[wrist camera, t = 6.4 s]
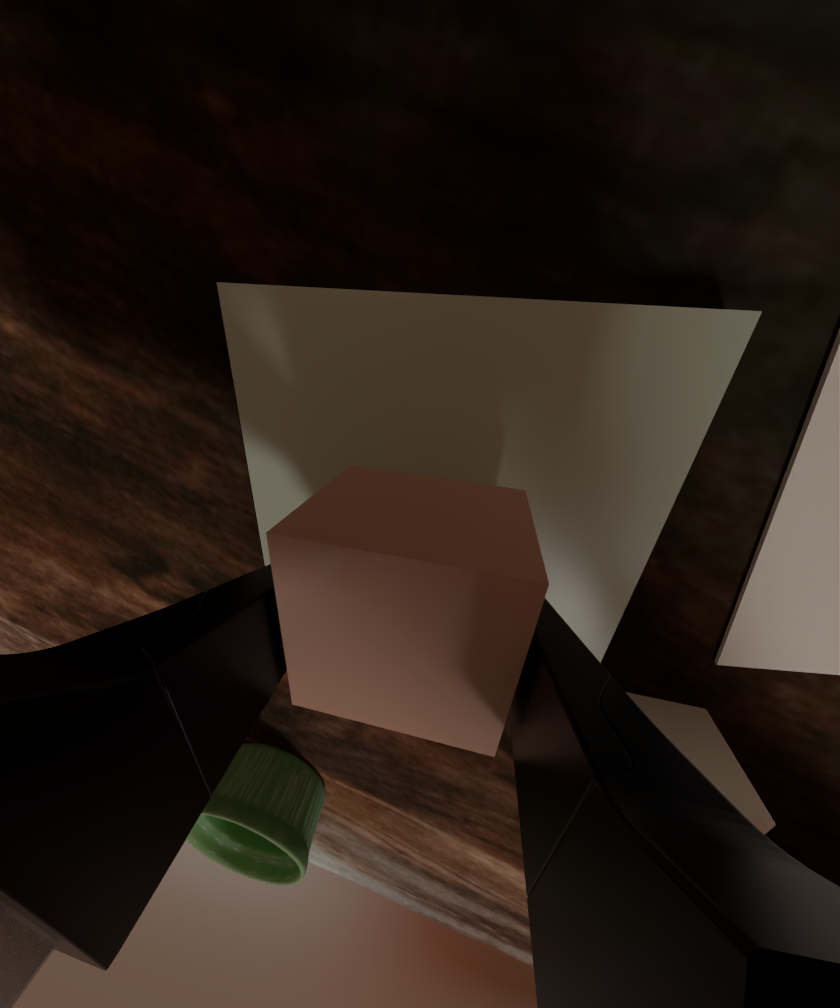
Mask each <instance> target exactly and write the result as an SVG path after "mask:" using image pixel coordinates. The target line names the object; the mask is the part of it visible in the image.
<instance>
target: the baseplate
mask: <svg viewBox="0 0 840 1008" xmlns="http://www.w3.org/2000/svg"><path fill="white" fill-rule="evenodd" d="M217 288H218V294H219V299H220V305H221V311H222V317H223V323H224V329H225V334H226V340H227V346H228V352H229V358H230V364H231V370H232V375H233V381H234V387H235V393H236V399H237V405H238V410H239V416H240V422H241V428H242V434H243V440H244V445H245V451H246V457H247V463H248V469H249V475H250V481H251V486H252V492H253V498H254V504H255V510H256V516H257V521H258V527H259V533H260V539H261V545H262V551H263V556H264V562H265V566H267V565H269V564H271V562H270V556H269V549H268V543H267V536H266V532H267V531H269V530H270V529H271V528H272V527H274V526H275V525H276V524H277V523H279V522H280V521H281V520H282V519H284V518H285V517H286V516H287V515H289V514H290V513H291V512H292V511H294V510H295V509H296V508H297V507H299V506H300V505H301V504H302V503H304V502H305V501H306V500H307V499H309V498H310V497H311V496H312V495H314V494H315V493H316V492H317V491H319V490H320V489H321V488H322V487H324V486H325V485H326V484H327V483H329V482H330V481H331V480H332V479H334V478H335V477H336V476H337V475H339V474H340V473H341V472H342V471H344V470H345V469H346V468H347V467H349V466H350V465H353V466H360V467H367V468H374V469H381V470H388V471H395V472H402V473H409V474H416V475H423V476H430V477H437V478H444V479H451V480H458V481H465V482H472V483H479V484H486V485H493V486H500V487H508V488H515V489H522V490H526V494H527V498H528V502H529V506H530V510H531V514H532V518H533V522H534V526H535V530H536V534H537V538H538V542H539V545H540V549H541V553H542V557H543V561H544V565H545V569H546V573H547V577H548V581H549V587H548V590H547V593H546V596H545V598H546V600H547V601H548V602H549V603H550V604H551V605H552V607H553V608H554V609H555V610H556V611H557V612H558V614H559V615H560V616H561V617H562V618H563V620H564V621H565V622H566V623H567V624H568V625H569V627H570V628H571V629H572V630H573V631H574V632H575V634H576V635H577V636H578V637H579V638H580V639H581V641H582V642H583V643H584V644H585V645H586V646H587V648H588V649H589V650H590V651H591V652H592V654H593V655H594V656H595V657H596V658H597V659H598V661H599V662H600V663H601V661H602V658H603V656H604V654H605V652H606V650H607V648H608V645H609V643H610V641H611V639H612V637H613V635H614V632H615V630H616V628H617V626H618V624H619V621H620V619H621V617H622V615H623V613H624V611H625V608H626V606H627V604H628V602H629V600H630V598H631V595H632V593H633V591H634V589H635V587H636V584H637V582H638V580H639V578H640V576H641V574H642V571H643V569H644V567H645V565H646V563H647V561H648V558H649V556H650V554H651V552H652V550H653V548H654V545H655V543H656V541H657V539H658V537H659V534H660V532H661V530H662V528H663V526H664V524H665V521H666V519H667V517H668V515H669V513H670V511H671V508H672V506H673V504H674V502H675V500H676V497H677V495H678V493H679V491H680V489H681V487H682V484H683V482H684V480H685V478H686V476H687V474H688V471H689V469H690V467H691V465H692V463H693V461H694V458H695V456H696V454H697V452H698V450H699V447H700V445H701V443H702V441H703V439H704V437H705V434H706V432H707V430H708V428H709V426H710V424H711V421H712V419H713V417H714V415H715V413H716V410H717V408H718V406H719V404H720V402H721V400H722V397H723V395H724V393H725V391H726V389H727V387H728V384H729V382H730V380H731V378H732V376H733V374H734V371H735V369H736V367H737V365H738V363H739V360H740V358H741V356H742V354H743V352H744V350H745V347H746V345H747V343H748V341H749V339H750V337H751V334H752V332H753V330H754V328H755V326H756V323H757V321H758V319H759V317H760V315H761V313H762V311H744V310H726V309H707V308H688V307H670V306H651V305H632V304H614V303H595V302H576V301H558V300H539V299H520V298H502V297H483V296H464V295H446V294H427V293H408V292H390V291H371V290H352V289H334V288H315V287H296V286H278V285H259V284H240V283H222V282H217Z"/></svg>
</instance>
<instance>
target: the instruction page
mask: <svg viewBox="0 0 840 1008" xmlns="http://www.w3.org/2000/svg"><path fill="white" fill-rule="evenodd" d="M714 662H715V663H716V665H724V666H736V667H748V668H760V669H773V670H785V671H797V672H809V673H821V674H833V675H840V329H839V331H838V334H837V337H836V339H835V342H834V345H833V347H832V350H831V353H830V355H829V358H828V361H827V363H826V366H825V369H824V371H823V374H822V376H821V379H820V382H819V384H818V387H817V390H816V392H815V395H814V398H813V400H812V403H811V406H810V408H809V411H808V414H807V416H806V419H805V422H804V424H803V427H802V430H801V432H800V435H799V438H798V440H797V443H796V446H795V448H794V451H793V454H792V456H791V459H790V462H789V464H788V467H787V470H786V472H785V475H784V477H783V480H782V483H781V485H780V488H779V491H778V493H777V496H776V499H775V501H774V504H773V507H772V509H771V512H770V515H769V517H768V520H767V523H766V525H765V528H764V531H763V533H762V536H761V539H760V541H759V544H758V547H757V549H756V552H755V555H754V557H753V560H752V563H751V565H750V568H749V571H748V573H747V576H746V578H745V581H744V584H743V586H742V589H741V592H740V594H739V597H738V600H737V602H736V605H735V608H734V610H733V613H732V616H731V618H730V621H729V624H728V626H727V629H726V632H725V634H724V637H723V640H722V642H721V645H720V648H719V650H718V653H717V656H716V658H715V661H714Z"/></svg>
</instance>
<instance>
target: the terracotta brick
mask: <svg viewBox="0 0 840 1008" xmlns="http://www.w3.org/2000/svg"><path fill="white" fill-rule="evenodd" d="M266 536H267V543H268V549H269V556H270V562H271V569H272V575H273V582H274V588H275V595H276V601H277V608H278V614H279V621H280V627H281V634H282V640H283V647H284V653H285V660H286V666H287V673H288V679H289V686H290V692H291V699H292V704H293V705H297V706H301V707H305V708H309V709H312V710H316V711H320V712H324V713H328V714H332V715H335V716H339V717H343V718H347V719H351V720H355V721H358V722H362V723H366V724H370V725H374V726H378V727H381V728H385V729H389V730H393V731H397V732H401V733H404V734H408V735H412V736H416V737H420V738H424V739H428V740H431V741H435V742H439V743H443V744H447V745H451V746H454V747H458V748H462V749H466V750H470V751H474V752H477V753H481V754H485V755H489V756H493V757H495V754H496V750H497V747H498V744H499V741H500V738H501V735H502V732H503V728H504V725H505V722H506V719H507V716H508V713H509V709H510V706H511V703H512V700H513V697H514V694H515V691H516V687H517V684H518V681H519V678H520V675H521V672H522V668H523V665H524V662H525V659H526V656H527V653H528V650H529V646H530V643H531V640H532V637H533V634H534V631H535V628H536V624H537V621H538V618H539V615H540V612H541V609H542V605H543V602H544V599H545V596H546V593H547V590H548V587H549V581H548V577H547V573H546V569H545V565H544V561H543V557H542V553H541V549H540V545H539V542H538V538H537V534H536V530H535V526H534V522H533V518H532V514H531V510H530V506H529V502H528V498H527V494H526V490H522V489H515V488H508V487H500V486H493V485H486V484H479V483H472V482H465V481H458V480H451V479H444V478H437V477H430V476H423V475H416V474H409V473H402V472H395V471H388V470H381V469H374V468H367V467H360V466H353V465H350V466H349V467H347V468H346V469H345V470H344V471H342V472H341V473H340V474H339V475H337V476H336V477H335V478H334V479H332V480H331V481H330V482H329V483H327V484H326V485H325V486H324V487H322V488H321V489H320V490H319V491H317V492H316V493H315V494H314V495H312V496H311V497H310V498H309V499H307V500H306V501H305V502H304V503H302V504H301V505H300V506H299V507H297V508H296V509H295V510H294V511H292V512H291V513H290V514H289V515H287V516H286V517H285V518H284V519H282V520H281V521H280V522H279V523H277V524H276V525H275V526H274V527H272V528H271V529H270V530H269V531H267V532H266Z"/></svg>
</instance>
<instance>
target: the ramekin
mask: <svg viewBox="0 0 840 1008" xmlns="http://www.w3.org/2000/svg"><path fill="white" fill-rule="evenodd" d="M325 794H326V792H325V786H324V783H323V781H322V779H321V778H320V776H319V775H318V774H317V773H316V771H315V770H314V769H313V768H312V767H310V766H309V765H308V764H307V763H306V762H304V761H303V760H301V759H300V758H298V757H297V756H295V755H293V754H291V753H290V752H287V751H285V750H283V749H280V748H278V747H275V746H271V745H268V744H263V743H243V744H242V746H241V747H240V749H239V751H238V752H237V754H236V756H235V757H234V759H233V761H232V762H231V764H230V766H229V767H228V769H227V771H226V772H225V774H224V776H223V777H222V779H221V781H220V782H219V784H218V786H217V788H216V789H215V791H214V793H213V794H212V795H211V796H210V800H209V801H208V803H207V805H206V806H205V808H204V810H203V811H202V813H201V815H200V816H199V818H198V820H197V822H196V823H195V825H194V827H193V828H192V830H191V832H190V833H189V835H188V837H187V838H186V840H187V841H188V842H189V843H190V844H191V845H192V846H193V847H194V848H196V849H197V850H198V851H200V852H201V853H202V854H204V855H205V856H207V857H208V858H210V859H211V860H213V861H215V862H216V863H218V864H220V865H222V866H223V867H226V868H227V869H230V870H232V871H234V872H236V873H239V874H241V875H243V876H246V877H248V878H251V879H254V880H257V881H261V882H265V883H269V884H275V885H293V884H296V883H298V882H300V881H301V880H302V879H303V878H304V875H305V873H306V869H307V864H308V855H309V850H310V847H311V843H312V840H313V837H314V834H315V830H316V827H317V824H318V821H319V817H320V814H321V811H322V808H323V804H324V800H325Z"/></svg>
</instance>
